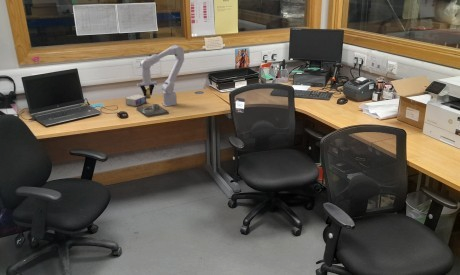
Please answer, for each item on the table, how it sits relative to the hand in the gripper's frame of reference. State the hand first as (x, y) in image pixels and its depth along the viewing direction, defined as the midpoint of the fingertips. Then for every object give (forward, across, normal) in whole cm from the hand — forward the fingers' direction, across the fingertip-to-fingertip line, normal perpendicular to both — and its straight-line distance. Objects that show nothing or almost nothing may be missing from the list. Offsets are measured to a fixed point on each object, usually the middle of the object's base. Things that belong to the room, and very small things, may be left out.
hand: (147, 95), depth 287 cm
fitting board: (+9, +2, +11) cm, 15 cm away
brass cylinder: (+2, 0, 0) cm, 2 cm away
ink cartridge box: (+6, +10, -10) cm, 15 cm away
